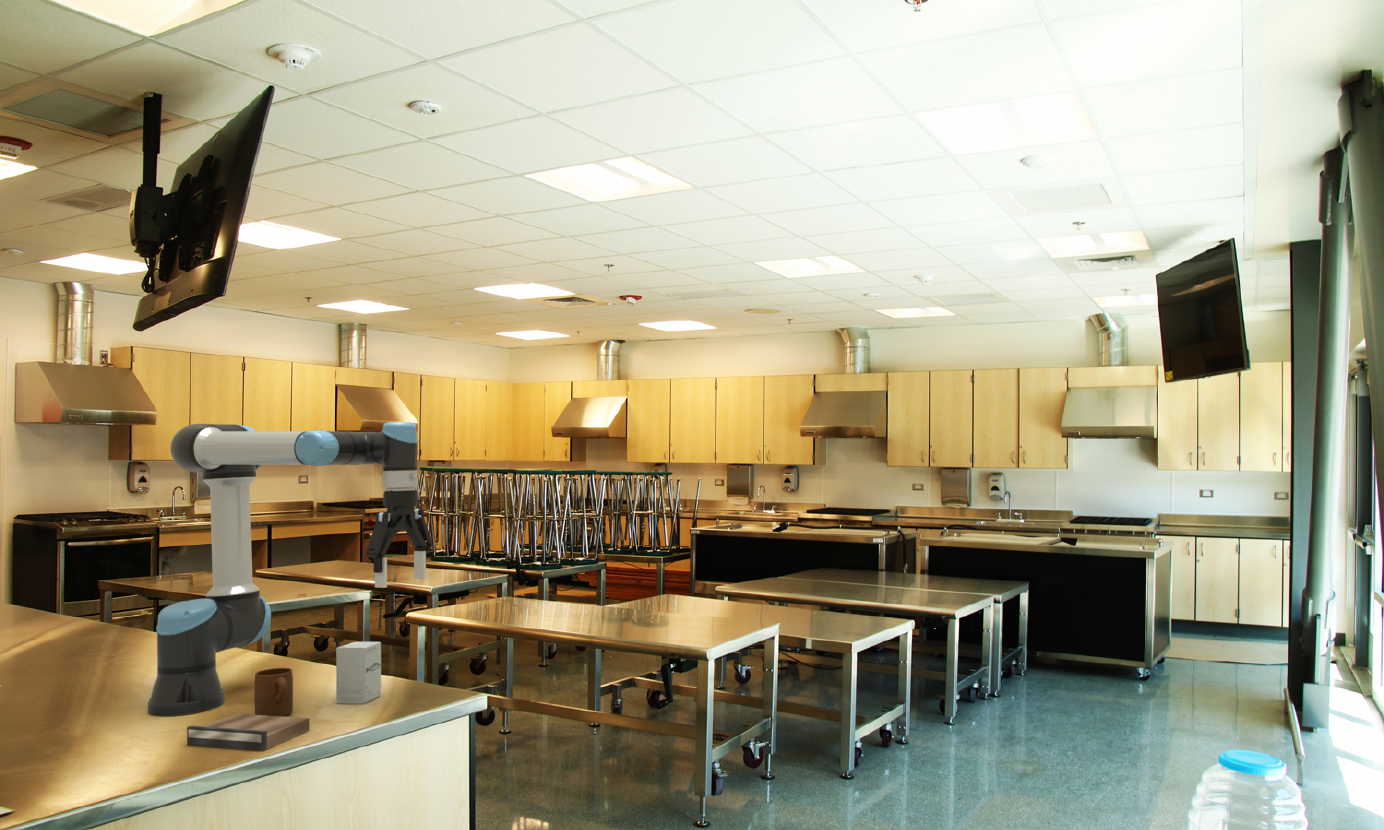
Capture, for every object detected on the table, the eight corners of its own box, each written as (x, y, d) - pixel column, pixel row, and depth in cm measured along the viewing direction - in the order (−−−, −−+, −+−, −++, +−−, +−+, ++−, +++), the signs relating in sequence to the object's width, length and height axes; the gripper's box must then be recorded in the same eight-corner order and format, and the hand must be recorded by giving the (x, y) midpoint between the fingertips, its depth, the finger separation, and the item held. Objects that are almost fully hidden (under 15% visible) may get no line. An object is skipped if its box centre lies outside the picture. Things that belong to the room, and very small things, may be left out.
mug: (303, 719, 191) (303, 674, 191) (265, 726, 186) (265, 681, 186) (287, 708, 200) (287, 665, 201) (250, 715, 195) (250, 671, 196)
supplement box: (364, 704, 202) (364, 647, 202) (335, 703, 203) (334, 647, 204) (382, 695, 209) (382, 641, 209) (353, 694, 210) (353, 640, 211)
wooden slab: (186, 745, 175) (186, 726, 175) (236, 725, 187) (236, 708, 188) (263, 750, 170) (263, 732, 170) (309, 730, 183) (309, 713, 183)
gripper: (376, 491, 192) (377, 591, 191) (447, 487, 215) (448, 576, 214) (348, 492, 194) (348, 590, 193) (421, 487, 217) (422, 575, 216)
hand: (401, 583), depth 204 cm, fingers open, 13 cm apart
